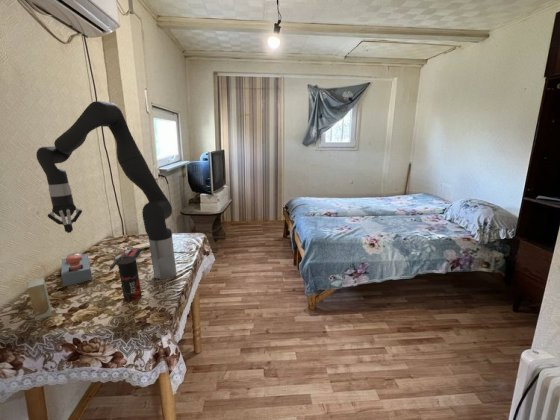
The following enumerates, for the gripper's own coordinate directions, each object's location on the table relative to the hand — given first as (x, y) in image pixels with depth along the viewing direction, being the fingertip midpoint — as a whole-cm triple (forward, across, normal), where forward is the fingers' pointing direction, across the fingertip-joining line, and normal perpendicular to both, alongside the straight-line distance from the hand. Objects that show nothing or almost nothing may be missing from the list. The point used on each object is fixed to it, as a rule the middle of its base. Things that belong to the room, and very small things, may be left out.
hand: (69, 232), depth 130 cm
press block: (+18, 0, -5) cm, 19 cm away
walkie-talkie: (+19, +20, -2) cm, 27 cm away
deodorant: (+19, +16, -42) cm, 49 cm away
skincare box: (+19, -11, -35) cm, 41 cm away
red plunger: (+15, 0, -11) cm, 18 cm away
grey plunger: (+17, 0, 0) cm, 17 cm away
